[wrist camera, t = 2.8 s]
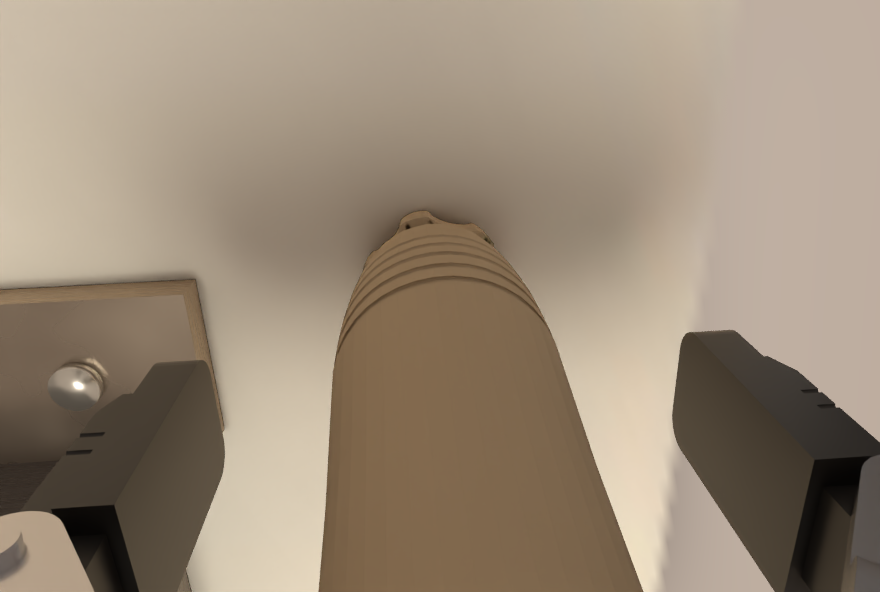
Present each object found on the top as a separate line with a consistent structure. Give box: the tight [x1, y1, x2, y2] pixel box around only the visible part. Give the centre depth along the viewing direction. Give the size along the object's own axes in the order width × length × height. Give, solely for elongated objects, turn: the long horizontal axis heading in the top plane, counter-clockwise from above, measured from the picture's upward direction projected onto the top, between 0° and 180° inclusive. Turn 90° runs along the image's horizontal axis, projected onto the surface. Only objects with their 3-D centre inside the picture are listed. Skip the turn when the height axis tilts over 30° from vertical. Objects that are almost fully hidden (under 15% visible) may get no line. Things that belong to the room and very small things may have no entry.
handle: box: [319, 211, 643, 592], centre depth 10 cm, size 5×6×15 cm
